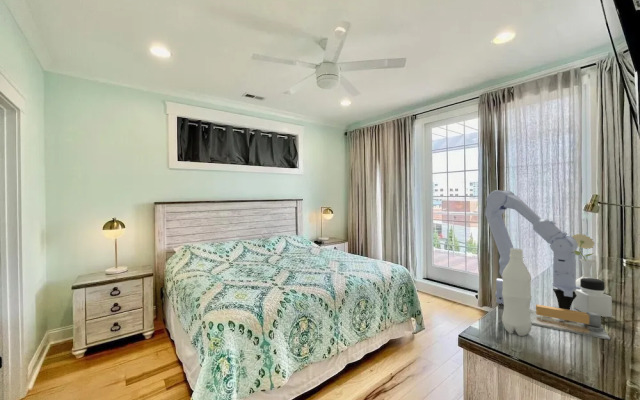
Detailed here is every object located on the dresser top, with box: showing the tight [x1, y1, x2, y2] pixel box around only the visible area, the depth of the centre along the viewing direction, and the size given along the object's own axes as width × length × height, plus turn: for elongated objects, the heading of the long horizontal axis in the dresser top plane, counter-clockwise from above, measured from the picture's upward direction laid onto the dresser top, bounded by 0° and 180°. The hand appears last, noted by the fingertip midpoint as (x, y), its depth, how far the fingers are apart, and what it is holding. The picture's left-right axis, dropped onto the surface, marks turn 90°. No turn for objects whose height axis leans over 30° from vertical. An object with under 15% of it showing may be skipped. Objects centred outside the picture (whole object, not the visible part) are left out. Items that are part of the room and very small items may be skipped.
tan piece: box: [535, 303, 602, 327], centre depth 88 cm, size 16×3×3 cm, turn 56°
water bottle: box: [501, 247, 532, 337], centre depth 83 cm, size 7×7×25 cm
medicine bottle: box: [573, 277, 613, 318], centre depth 97 cm, size 7×7×12 cm
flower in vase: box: [571, 233, 606, 293], centre depth 122 cm, size 13×11×25 cm
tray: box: [529, 308, 611, 341], centre depth 89 cm, size 18×14×1 cm
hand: (564, 311), depth 93 cm, fingers closed
